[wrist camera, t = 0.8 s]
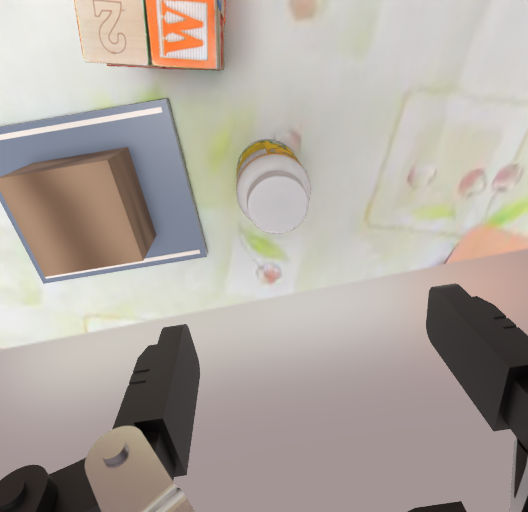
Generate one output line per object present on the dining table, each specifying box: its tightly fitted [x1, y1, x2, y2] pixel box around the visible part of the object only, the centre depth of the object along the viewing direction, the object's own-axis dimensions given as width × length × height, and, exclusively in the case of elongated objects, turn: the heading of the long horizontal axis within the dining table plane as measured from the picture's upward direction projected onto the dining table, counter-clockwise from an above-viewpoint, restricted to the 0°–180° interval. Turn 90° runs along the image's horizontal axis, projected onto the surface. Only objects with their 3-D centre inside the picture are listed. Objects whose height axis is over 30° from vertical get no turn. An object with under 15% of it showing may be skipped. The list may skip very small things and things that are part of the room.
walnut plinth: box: [0, 147, 156, 277], centre depth 28 cm, size 8×8×5 cm
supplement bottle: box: [237, 139, 311, 234], centre depth 27 cm, size 5×5×10 cm
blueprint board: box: [0, 98, 207, 283], centre depth 31 cm, size 16×14×1 cm
